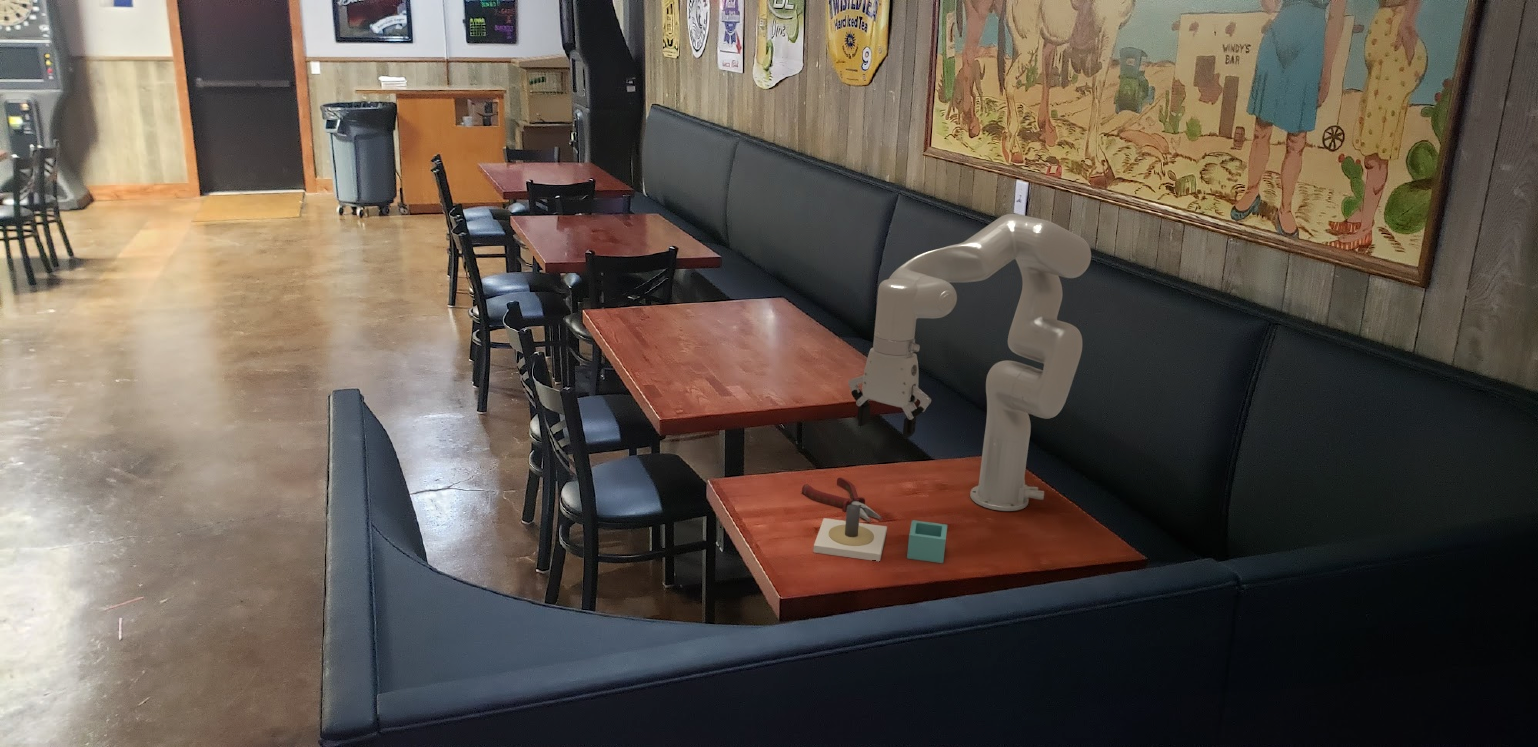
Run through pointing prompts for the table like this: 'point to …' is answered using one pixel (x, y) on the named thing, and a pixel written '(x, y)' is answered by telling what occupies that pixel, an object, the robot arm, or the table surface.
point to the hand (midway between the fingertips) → (885, 430)
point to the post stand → (850, 537)
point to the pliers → (841, 498)
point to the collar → (927, 541)
